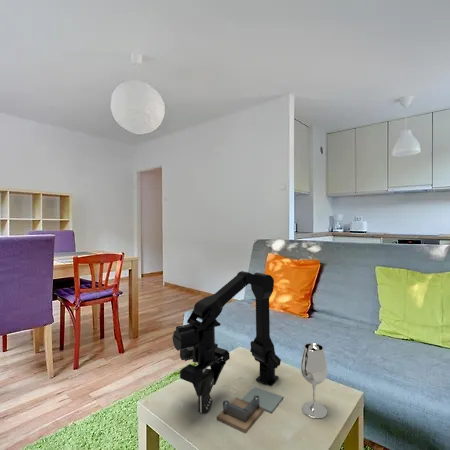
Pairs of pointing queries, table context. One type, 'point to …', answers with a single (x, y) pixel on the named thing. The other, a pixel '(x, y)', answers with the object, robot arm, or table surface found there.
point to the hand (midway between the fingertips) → (206, 390)
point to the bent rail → (241, 409)
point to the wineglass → (314, 376)
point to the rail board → (240, 424)
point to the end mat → (264, 398)
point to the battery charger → (206, 391)
